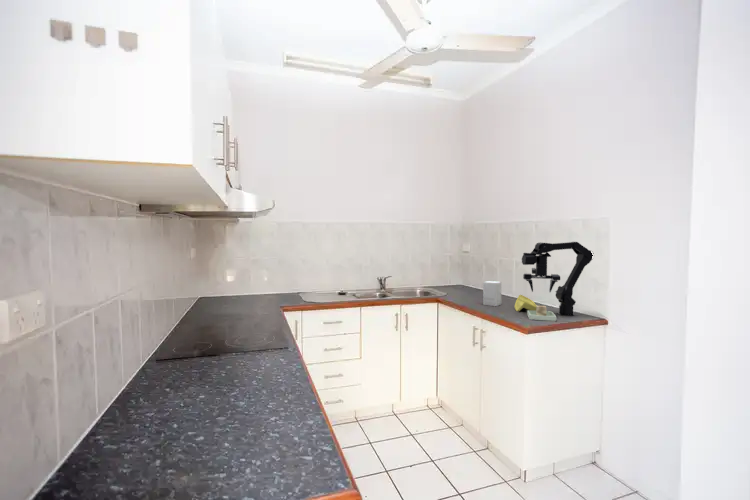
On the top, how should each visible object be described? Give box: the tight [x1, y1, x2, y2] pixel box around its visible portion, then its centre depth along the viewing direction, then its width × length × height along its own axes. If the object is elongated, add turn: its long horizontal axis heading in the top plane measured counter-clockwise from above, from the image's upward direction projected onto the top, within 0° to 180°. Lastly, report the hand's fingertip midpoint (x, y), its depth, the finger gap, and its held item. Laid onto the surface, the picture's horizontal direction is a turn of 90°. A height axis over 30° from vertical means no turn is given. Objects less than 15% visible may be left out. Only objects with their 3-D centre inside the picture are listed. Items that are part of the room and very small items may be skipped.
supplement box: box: [482, 280, 502, 307], centre depth 241 cm, size 9×9×15 cm
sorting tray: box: [526, 309, 557, 322], centre depth 203 cm, size 13×13×2 cm
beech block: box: [536, 304, 547, 316], centre depth 202 cm, size 4×4×6 cm
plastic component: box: [514, 294, 537, 313], centre depth 226 cm, size 20×7×10 cm
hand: (541, 292), depth 210 cm, fingers open, 9 cm apart
